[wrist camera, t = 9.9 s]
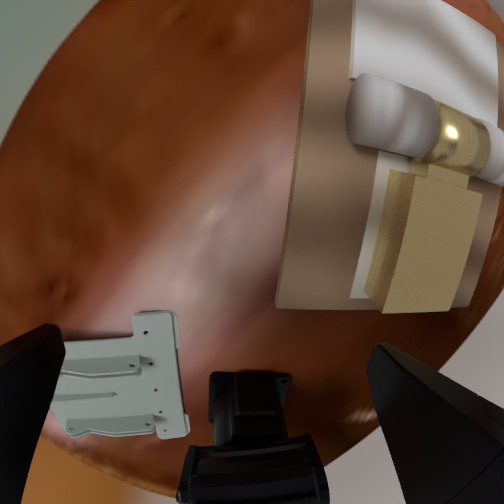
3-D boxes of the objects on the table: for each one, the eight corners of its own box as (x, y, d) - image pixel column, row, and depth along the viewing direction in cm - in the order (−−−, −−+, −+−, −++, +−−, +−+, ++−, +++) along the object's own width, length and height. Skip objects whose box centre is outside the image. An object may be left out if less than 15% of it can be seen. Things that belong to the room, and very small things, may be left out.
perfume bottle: (428, 291, 21) (456, 318, 17) (363, 290, 20) (388, 321, 16) (463, 121, 16) (502, 124, 12) (398, 96, 15) (435, 90, 12)
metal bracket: (64, 457, 20) (-2, 336, 14) (66, 415, 25) (19, 296, 19) (203, 445, 25) (194, 323, 19) (190, 404, 30) (180, 284, 24)
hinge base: (462, 301, 23) (493, 329, 18) (274, 301, 21) (287, 345, 16) (500, 49, 15) (539, 45, 10) (312, -36, 13) (334, -73, 8)
